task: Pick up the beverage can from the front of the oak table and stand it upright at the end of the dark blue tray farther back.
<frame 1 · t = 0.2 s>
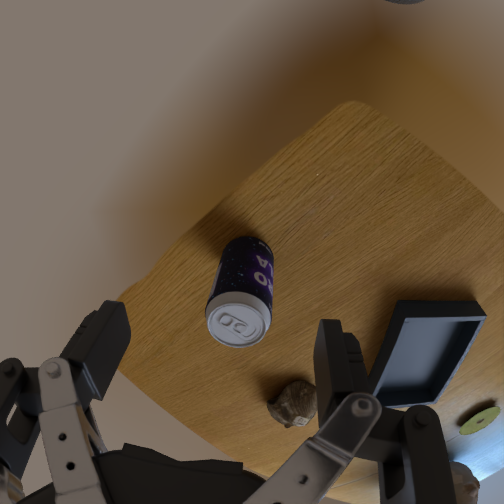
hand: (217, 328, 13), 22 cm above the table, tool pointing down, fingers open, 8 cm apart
bowl: (429, 468, 67), on the table
fossilized seashell: (294, 393, 48), on the table
beverage can: (248, 254, 36), on the table
dark blue tray: (417, 352, 42), on the table
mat: (477, 415, 53), on the table
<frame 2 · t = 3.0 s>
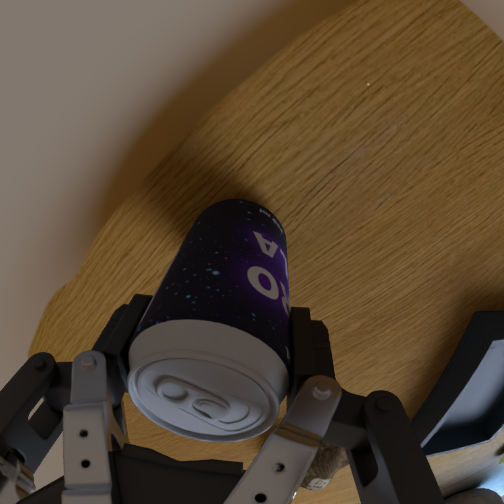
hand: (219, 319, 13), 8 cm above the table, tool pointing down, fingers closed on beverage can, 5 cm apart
bowl: (453, 496, 50), on the table
fossilized seashell: (309, 442, 31), on the table
beverage can: (239, 236, 20), on the table, touching gripper
dark blue tray: (481, 381, 26), on the table
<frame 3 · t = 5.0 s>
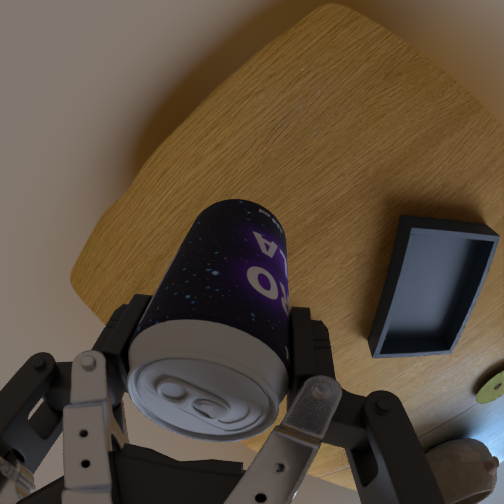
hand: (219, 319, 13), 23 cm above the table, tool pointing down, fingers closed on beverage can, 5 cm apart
bowl: (441, 448, 63), on the table
beverage can: (239, 236, 20), point 16 cm above the table, touching gripper
dark blue tray: (428, 286, 39), on the table
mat: (494, 380, 49), on the table
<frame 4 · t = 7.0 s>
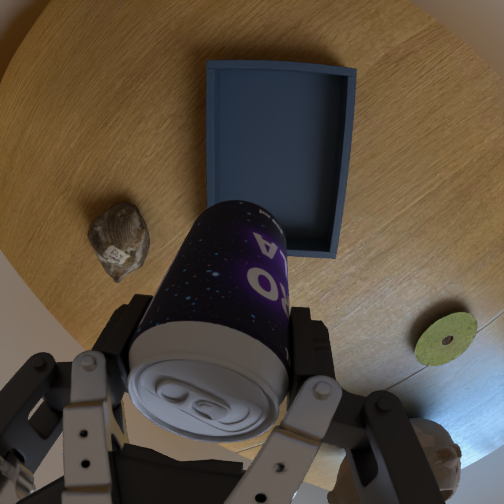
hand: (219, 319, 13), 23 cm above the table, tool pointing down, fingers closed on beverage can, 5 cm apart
bowl: (390, 431, 57), on the table
fossilized seashell: (127, 233, 38), on the table
beverage can: (239, 237, 20), point 16 cm above the table, touching gripper
dark blue tray: (277, 156, 33), on the table
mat: (442, 332, 43), on the table
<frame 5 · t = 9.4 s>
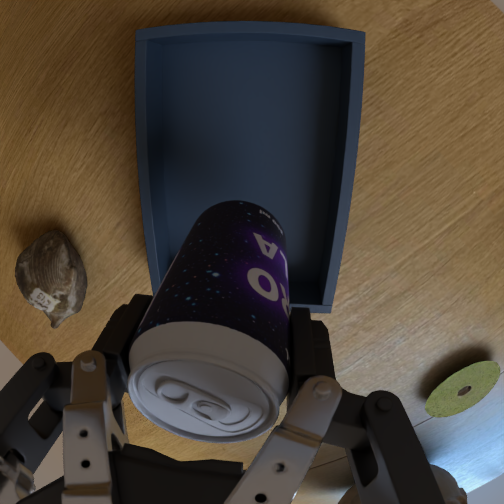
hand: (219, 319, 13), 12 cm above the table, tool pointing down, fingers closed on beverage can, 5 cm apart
bowl: (390, 473, 47), on the table
fossilized seashell: (65, 267, 28), on the table
beverage can: (239, 237, 20), point 5 cm above the table, touching gripper
dark blue tray: (247, 166, 22), on the table
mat: (459, 380, 33), on the table
when the fingers open (8 cm above the table, at t = 11.0 s): beverage can stays where it is, resting on dark blue tray.
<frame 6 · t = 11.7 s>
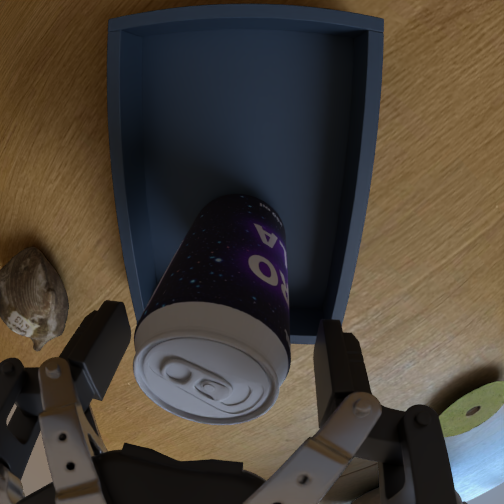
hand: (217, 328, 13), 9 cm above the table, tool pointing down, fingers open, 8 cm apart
bowl: (392, 487, 44), on the table
fossilized seashell: (46, 285, 25), on the table
beverage can: (240, 231, 20), resting on dark blue tray
dark blue tray: (242, 177, 19), on the table
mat: (468, 399, 29), on the table
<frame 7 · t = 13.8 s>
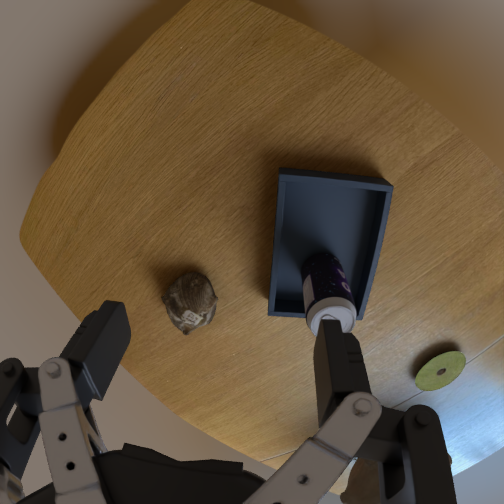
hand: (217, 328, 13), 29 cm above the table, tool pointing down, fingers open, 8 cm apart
bowl: (392, 442, 66), on the table
fossilized seashell: (194, 294, 48), on the table
beverage can: (320, 267, 44), resting on dark blue tray
dark blue tray: (324, 243, 42), on the table
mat: (437, 365, 52), on the table
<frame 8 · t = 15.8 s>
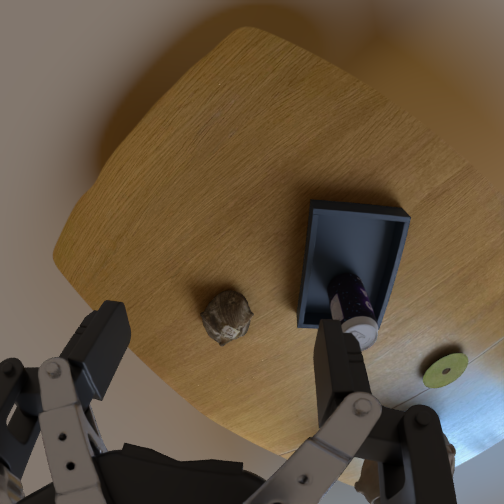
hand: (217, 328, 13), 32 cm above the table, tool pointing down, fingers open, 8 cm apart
bowl: (401, 434, 72), on the table
fossilized seashell: (228, 309, 53), on the table
beverage can: (344, 284, 48), resting on dark blue tray
dark blue tray: (347, 264, 47), on the table
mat: (443, 365, 57), on the table
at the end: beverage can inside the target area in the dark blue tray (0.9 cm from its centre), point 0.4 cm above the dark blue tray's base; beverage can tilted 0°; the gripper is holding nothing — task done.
